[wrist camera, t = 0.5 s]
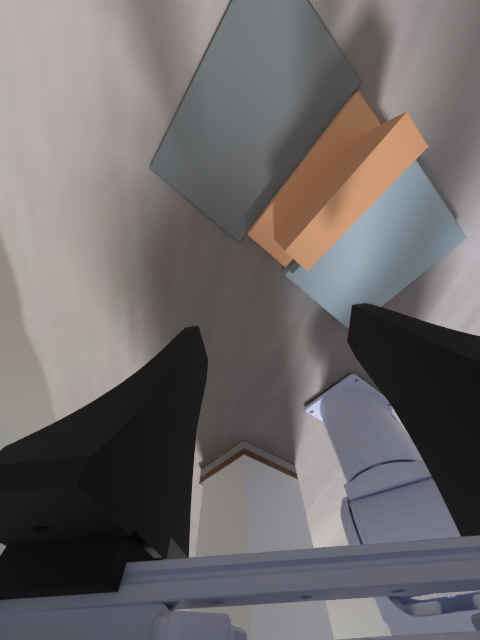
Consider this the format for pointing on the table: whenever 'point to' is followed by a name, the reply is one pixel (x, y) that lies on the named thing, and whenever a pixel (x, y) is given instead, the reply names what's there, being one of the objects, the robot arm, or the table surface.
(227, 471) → the tall white rectangular box
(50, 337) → the table surface
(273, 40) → the pad
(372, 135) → the stub
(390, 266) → the light blue notched panel
